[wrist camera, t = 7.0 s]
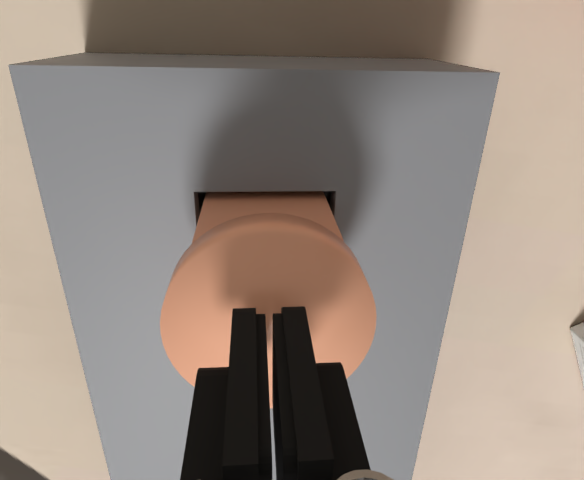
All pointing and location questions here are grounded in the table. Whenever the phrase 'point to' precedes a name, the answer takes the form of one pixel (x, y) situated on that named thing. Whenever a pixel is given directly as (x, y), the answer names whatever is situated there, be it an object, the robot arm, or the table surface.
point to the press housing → (250, 178)
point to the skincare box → (579, 346)
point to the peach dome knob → (266, 280)
